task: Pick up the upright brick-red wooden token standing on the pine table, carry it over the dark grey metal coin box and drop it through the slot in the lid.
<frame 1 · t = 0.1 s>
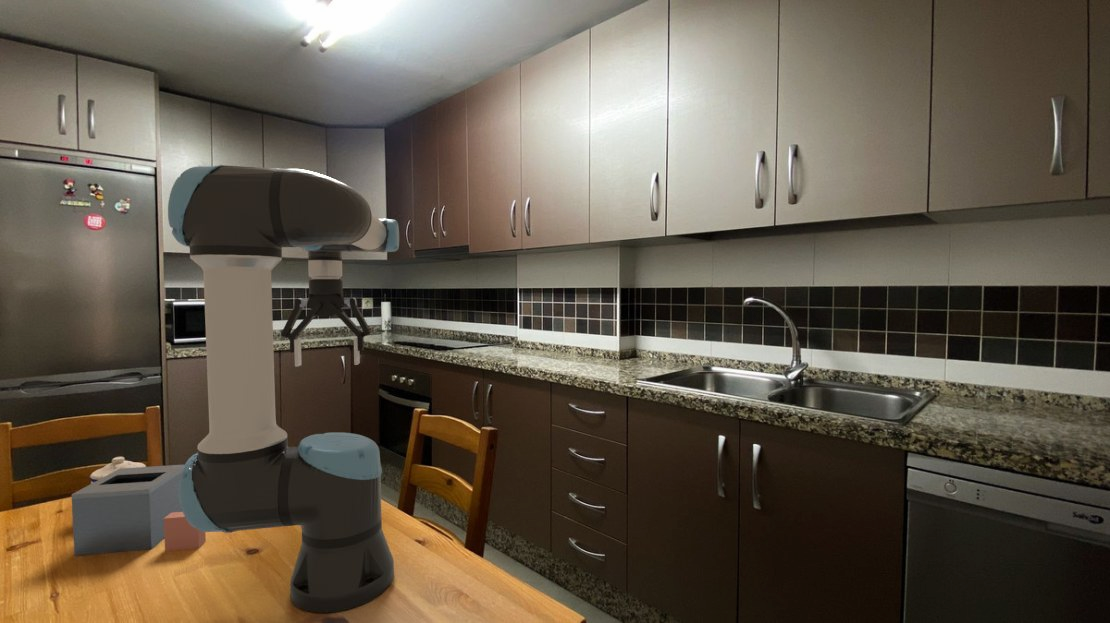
hand: (327, 365, 125), 28 cm above the table, fingers open, 13 cm apart
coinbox: (136, 534, 97), on the table
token: (185, 546, 93), on the table
teacup with lid: (116, 512, 107), on the table
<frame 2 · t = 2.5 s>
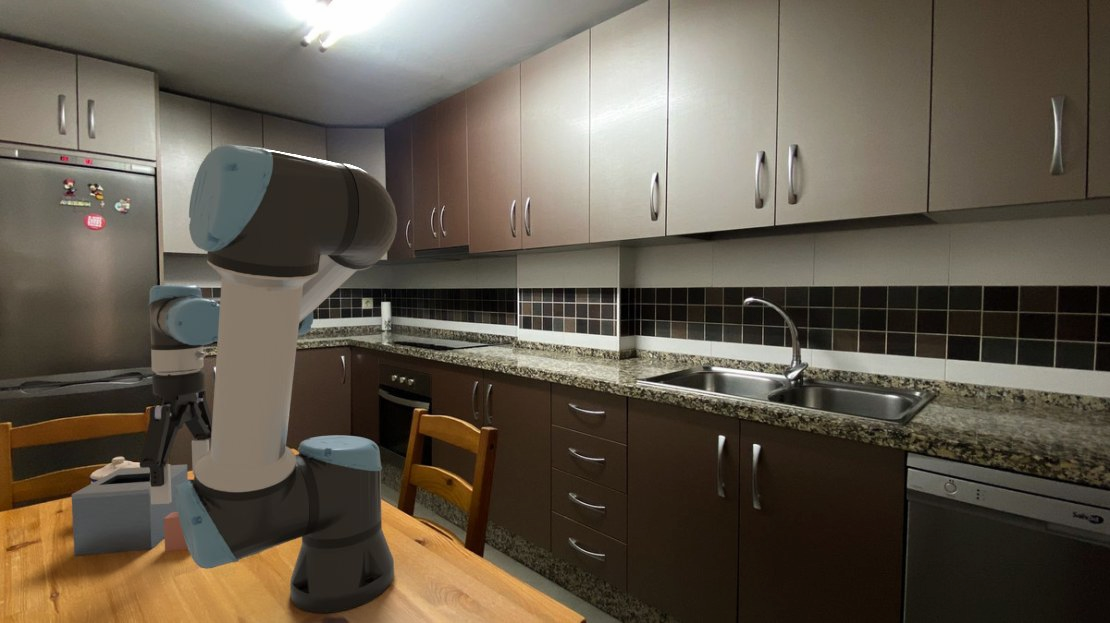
hand: (182, 487, 92), 11 cm above the table, fingers open, 13 cm apart
nothing on the table moved.
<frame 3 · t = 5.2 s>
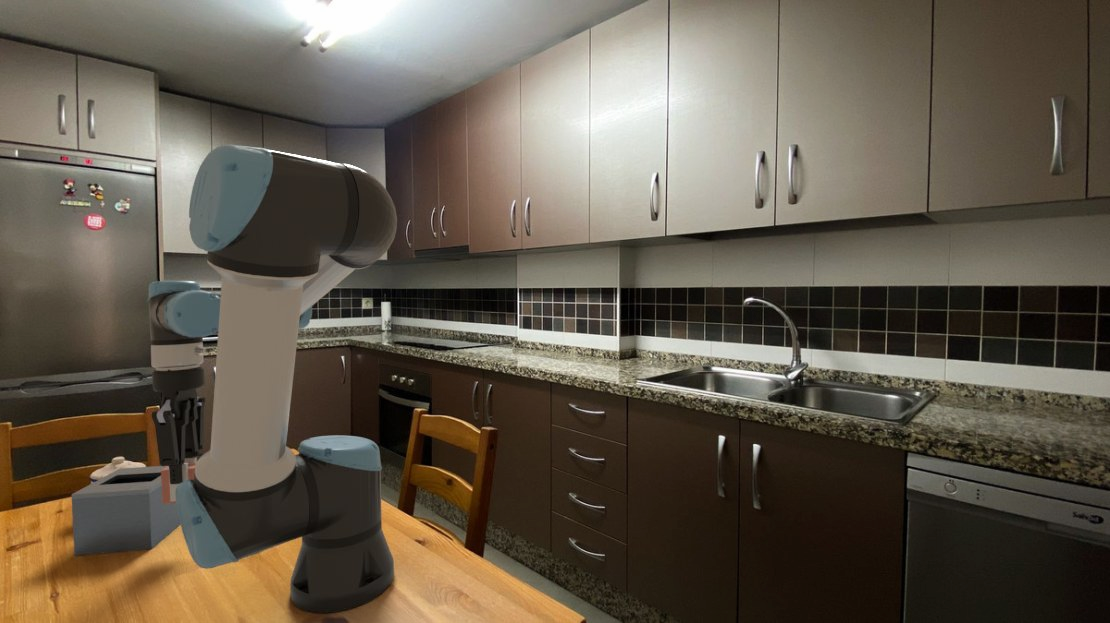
hand: (184, 496, 92), 9 cm above the table, fingers closed on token, 2 cm apart
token: (183, 499, 92), point 9 cm above the table, touching gripper
everything else where it was.
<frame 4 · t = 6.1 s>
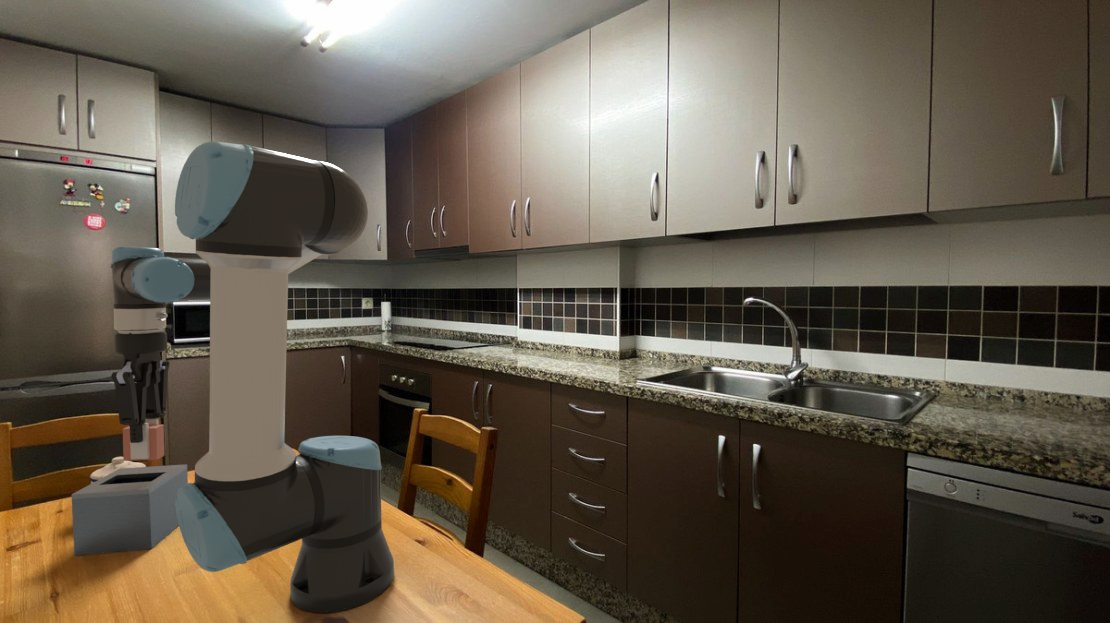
hand: (145, 455, 95), 16 cm above the table, fingers closed on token, 2 cm apart
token: (144, 458, 95), point 15 cm above the table, touching gripper
everything else where it was.
when the fingers open (12 cm above the table, at t = 7.2 s): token drops 10 cm and tips over, resting on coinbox.
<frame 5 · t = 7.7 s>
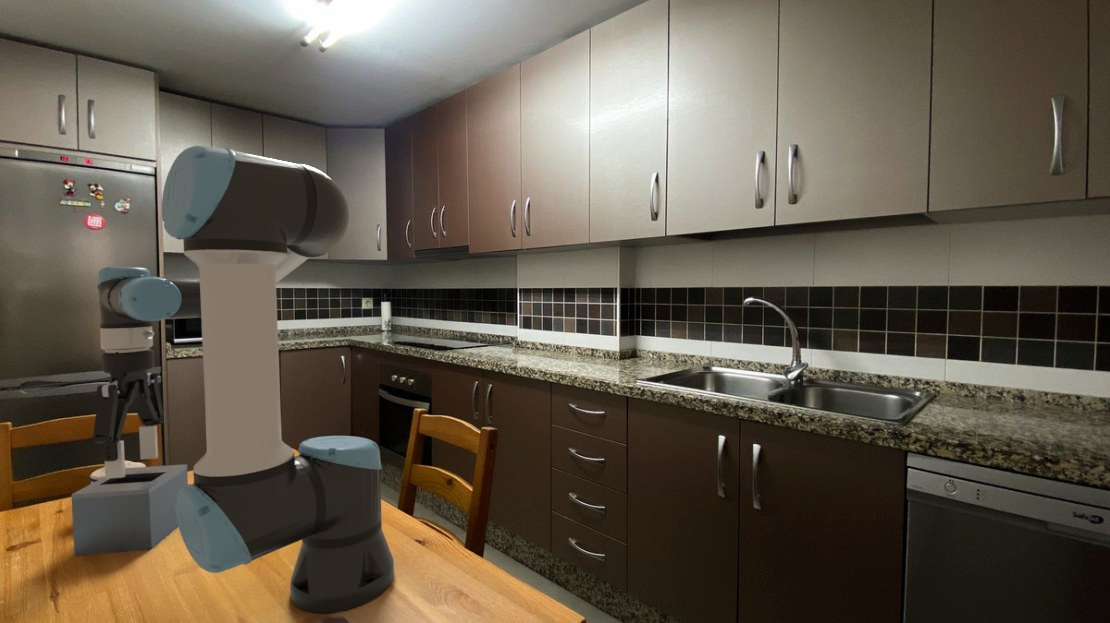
hand: (133, 467, 96), 13 cm above the table, fingers open, 9 cm apart
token: (132, 528, 96), point 2 cm above the table, tilted 41°, touching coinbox
everything else where it was.
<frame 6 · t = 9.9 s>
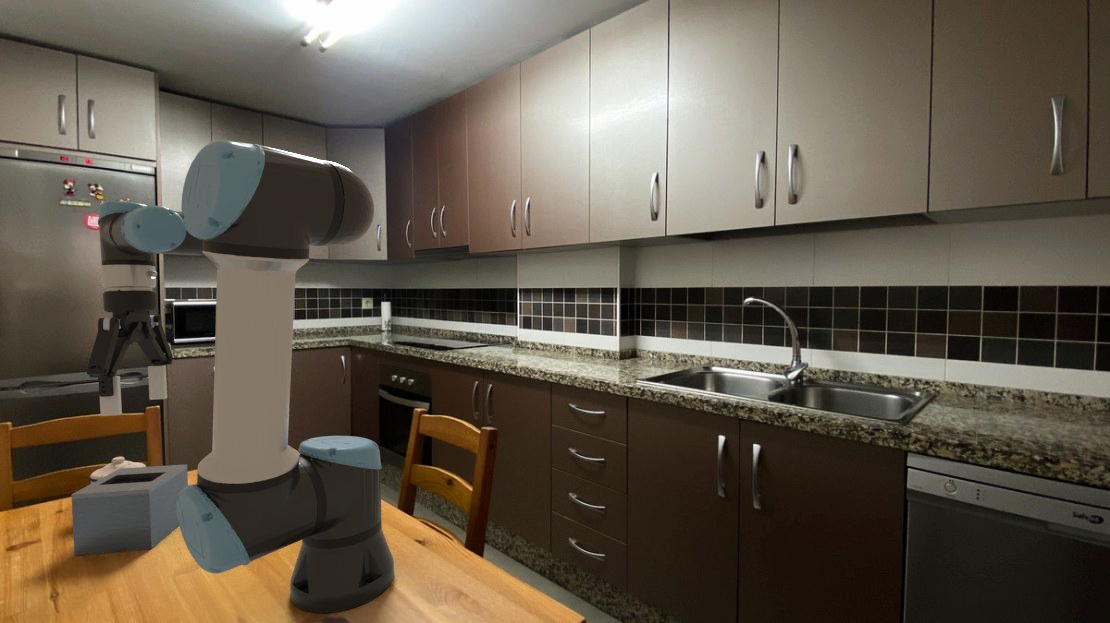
hand: (136, 406, 92), 25 cm above the table, fingers open, 13 cm apart
nothing on the table moved.
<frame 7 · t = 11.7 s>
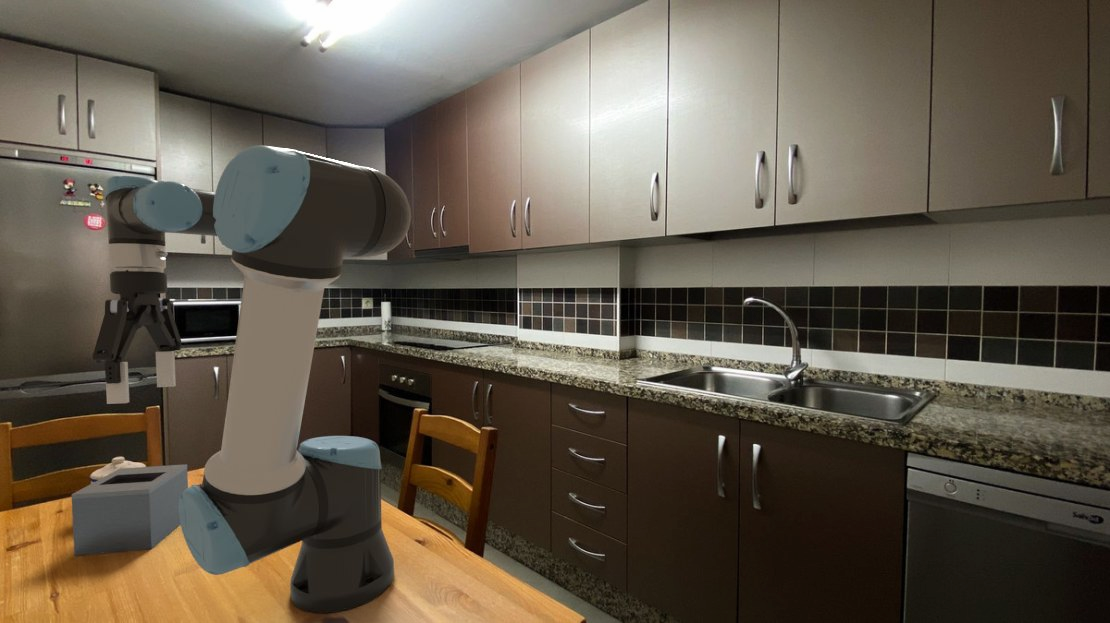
hand: (144, 394, 87), 29 cm above the table, fingers open, 13 cm apart
nothing on the table moved.
at the end: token inside the target area on the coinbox (0.6 cm from its centre), point 1.6 cm above the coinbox's base; the gripper is holding nothing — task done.
